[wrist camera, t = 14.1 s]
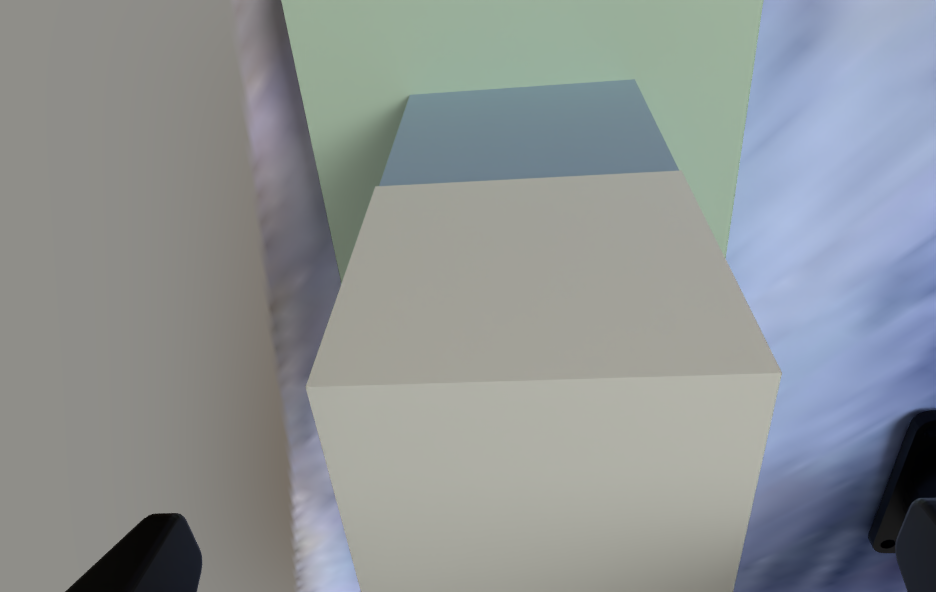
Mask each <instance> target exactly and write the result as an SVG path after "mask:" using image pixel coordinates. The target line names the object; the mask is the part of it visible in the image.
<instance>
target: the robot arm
mask: <svg viewBox="0 0 936 592" xmlns="http://www.w3.org/2000/svg"><path fill="white" fill-rule="evenodd" d="M868 539H869V541H870V543H871V545H872V547H873V548H874V550H875V551H877V552H880V553H896V558H897V562H898V565H899V568H900V571H901V574H902V577H903V580H904V583H905V586H906V589H907V592H936V411H926V412H923V413H920V414H918V415H917V416H915V417H914V418H913V419H912V421H911V422H910V424H909V427H908V430H907V432H906V435H905V438H904V440H903V443H902V446H901V449H900V451H899V454H898V457H897V459H896V462H895V465H894V467H893V470H892V473H891V475H890V478H889V481H888V483H887V486H886V489H885V491H884V494H883V497H882V499H881V502H880V505H879V508H878V510H877V513H876V516H875V518H874V521H873V524H872V526H871V529H870V532H869V534H868ZM201 569H202V555H201V551H200V548H199V546H198V544H197V542H196V540H195V538H194V536H193V533H192V531H191V529H190V527H189V525H188V523H187V521H186V519H185V518H184V517H183V516H182V515H181V514H178V513H167V514H165V513H163V514H152V515H149V516H148V517H146V518H144V519H143V520H142V521H141V522H140V523H139V524H138V525H137V526H136V527H134V528H133V529H132V530H131V531H130V532H129V533H128V534H127V535H126V536H125V537H124V538H123V539H121V540H120V541H119V542H118V543H117V544H116V545H115V546H114V547H113V548H112V549H111V550H110V551H108V552H107V553H106V554H105V555H104V556H103V557H102V558H101V559H100V560H99V561H98V562H97V563H96V564H95V565H93V566H92V567H91V568H90V569H89V570H88V571H87V572H86V573H85V574H84V575H83V576H82V577H81V578H79V580H77V581H76V582H75V583H74V584H73V585H72V586H71V587H70V588H69V589H68V590H67V591H65V592H197V588H198V584H199V579H200V575H201Z"/></svg>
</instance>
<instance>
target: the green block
mask: <svg viewBox="0 0 936 592" xmlns="http://www.w3.org/2000/svg"><path fill="white" fill-rule="evenodd" d="M281 2H282V6H283V11H284V16H285V20H286V25H287V30H288V35H289V39H290V44H291V49H292V53H293V58H294V63H295V68H296V72H297V77H298V82H299V86H300V91H301V96H302V101H303V105H304V110H305V115H306V119H307V124H308V129H309V133H310V138H311V143H312V148H313V152H314V157H315V162H316V166H317V171H318V176H319V181H320V185H321V190H322V195H323V199H324V204H325V209H326V214H327V218H328V223H329V228H330V232H331V237H332V242H333V246H334V251H335V256H336V261H337V265H338V270H339V275H340V279H341V284H342V281H343V278H344V275H345V272H346V269H347V267H348V264H349V261H350V258H351V255H352V252H353V249H354V246H355V244H356V241H357V238H358V235H359V232H360V229H361V226H362V223H363V221H364V218H365V215H366V212H367V209H368V206H369V203H370V200H371V197H372V195H373V192H374V189H375V186H379V185H380V182H381V179H382V176H383V173H384V170H385V167H386V164H387V161H388V158H389V155H390V152H391V149H392V146H393V143H394V140H395V137H396V134H397V131H398V128H399V125H400V123H401V120H402V117H403V114H404V111H405V108H406V105H407V102H408V99H409V96H410V95H414V94H429V93H444V92H458V91H473V90H487V89H502V88H516V87H531V86H545V85H560V84H574V83H589V82H603V81H618V80H632V79H635V81H636V83H637V85H638V87H639V89H640V91H641V93H642V95H643V97H644V99H645V101H646V103H647V105H648V108H649V110H650V112H651V114H652V116H653V118H654V120H655V122H656V124H657V126H658V128H659V130H660V132H661V134H662V136H663V138H664V140H665V142H666V144H667V146H668V148H669V150H670V153H671V155H672V157H673V159H674V161H675V163H676V165H677V167H678V169H679V171H680V170H682V172H683V174H684V176H685V178H686V180H687V182H688V184H689V186H690V188H691V190H692V193H693V195H694V197H695V199H696V201H697V203H698V205H699V207H700V209H701V211H702V213H703V215H704V217H705V219H706V221H707V223H708V225H709V227H710V229H711V231H712V233H713V235H714V237H715V239H716V241H717V243H718V245H719V247H720V249H721V251H722V253H723V255H724V257H725V258H726V252H727V245H728V238H729V231H730V224H731V217H732V211H733V204H734V197H735V190H736V183H737V176H738V170H739V163H740V156H741V149H742V142H743V135H744V129H745V122H746V115H747V108H748V101H749V94H750V88H751V81H752V74H753V67H754V60H755V54H756V47H757V40H758V33H759V26H760V19H761V13H762V6H763V0H281Z"/></svg>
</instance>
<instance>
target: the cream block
mask: <svg viewBox="0 0 936 592" xmlns="http://www.w3.org/2000/svg"><path fill="white" fill-rule="evenodd" d="M781 375H782V372H781V370H780V368H779V366H778V364H777V362H776V360H775V358H774V356H773V354H772V352H771V350H770V348H769V346H768V344H767V342H766V340H765V338H764V336H763V334H762V332H761V330H760V328H759V326H758V324H757V322H756V320H755V318H754V316H753V314H752V312H751V310H750V308H749V306H748V304H747V302H746V300H745V297H744V295H743V293H742V291H741V289H740V287H739V285H738V283H737V281H736V279H735V277H734V275H733V273H732V271H731V269H730V267H729V265H728V263H727V261H726V259H725V257H724V255H723V253H722V251H721V249H720V247H719V245H718V243H717V241H716V239H715V237H714V235H713V233H712V231H711V229H710V227H709V225H708V223H707V221H706V219H705V217H704V215H703V213H702V211H701V209H700V207H699V205H698V203H697V201H696V199H695V197H694V195H693V193H692V190H691V188H690V186H689V184H688V182H687V180H686V178H685V176H684V174H683V172H682V170H680V171H661V172H642V173H623V174H604V175H585V176H566V177H547V178H527V179H508V180H489V181H470V182H451V183H432V184H413V185H393V186H375V189H374V192H373V195H372V197H371V200H370V203H369V206H368V209H367V212H366V215H365V218H364V221H363V223H362V226H361V229H360V232H359V235H358V238H357V241H356V244H355V246H354V249H353V252H352V255H351V258H350V261H349V264H348V267H347V269H346V272H345V275H344V278H343V281H342V284H341V287H340V290H339V292H338V295H337V298H336V301H335V304H334V307H333V310H332V313H331V315H330V318H329V321H328V324H327V327H326V330H325V333H324V336H323V338H322V341H321V344H320V347H319V350H318V353H317V356H316V359H315V361H314V364H313V367H312V370H311V373H310V376H309V379H308V382H307V384H306V391H307V394H308V398H309V402H310V405H311V409H312V413H313V416H314V420H315V424H316V428H317V431H318V435H319V439H320V442H321V446H322V450H323V453H324V457H325V461H326V464H327V468H328V472H329V475H330V479H331V483H332V486H333V490H334V494H335V498H336V501H337V505H338V509H339V512H340V516H341V520H342V523H343V527H344V531H345V534H346V538H347V542H348V545H349V549H350V553H351V556H352V560H353V564H354V567H355V571H356V575H357V579H358V582H359V586H360V590H361V592H733V590H734V585H735V581H736V576H737V572H738V567H739V563H740V559H741V554H742V550H743V545H744V541H745V536H746V532H747V527H748V523H749V518H750V514H751V509H752V505H753V500H754V496H755V491H756V487H757V482H758V478H759V473H760V469H761V464H762V460H763V455H764V451H765V446H766V442H767V437H768V433H769V429H770V424H771V420H772V415H773V411H774V406H775V402H776V397H777V393H778V388H779V384H780V379H781Z"/></svg>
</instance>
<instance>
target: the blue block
mask: <svg viewBox="0 0 936 592" xmlns="http://www.w3.org/2000/svg"><path fill="white" fill-rule="evenodd" d="M661 171H679V169H678V167H677V165H676V163H675V161H674V159H673V157H672V155H671V153H670V150H669V148H668V146H667V144H666V142H665V140H664V138H663V136H662V134H661V132H660V130H659V128H658V126H657V124H656V122H655V120H654V118H653V116H652V114H651V112H650V110H649V108H648V105H647V103H646V101H645V99H644V97H643V95H642V93H641V91H640V89H639V87H638V85H637V83H636V81H635V79H632V80H618V81H603V82H589V83H574V84H560V85H545V86H531V87H516V88H502V89H487V90H473V91H458V92H444V93H429V94H414V95H410V96H409V99H408V102H407V105H406V108H405V111H404V114H403V117H402V120H401V123H400V125H399V128H398V131H397V134H396V137H395V140H394V143H393V146H392V149H391V152H390V155H389V158H388V161H387V164H386V167H385V170H384V173H383V176H382V179H381V182H380V185H379V186H393V185H413V184H432V183H451V182H470V181H489V180H508V179H527V178H547V177H566V176H585V175H604V174H623V173H642V172H661Z"/></svg>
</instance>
